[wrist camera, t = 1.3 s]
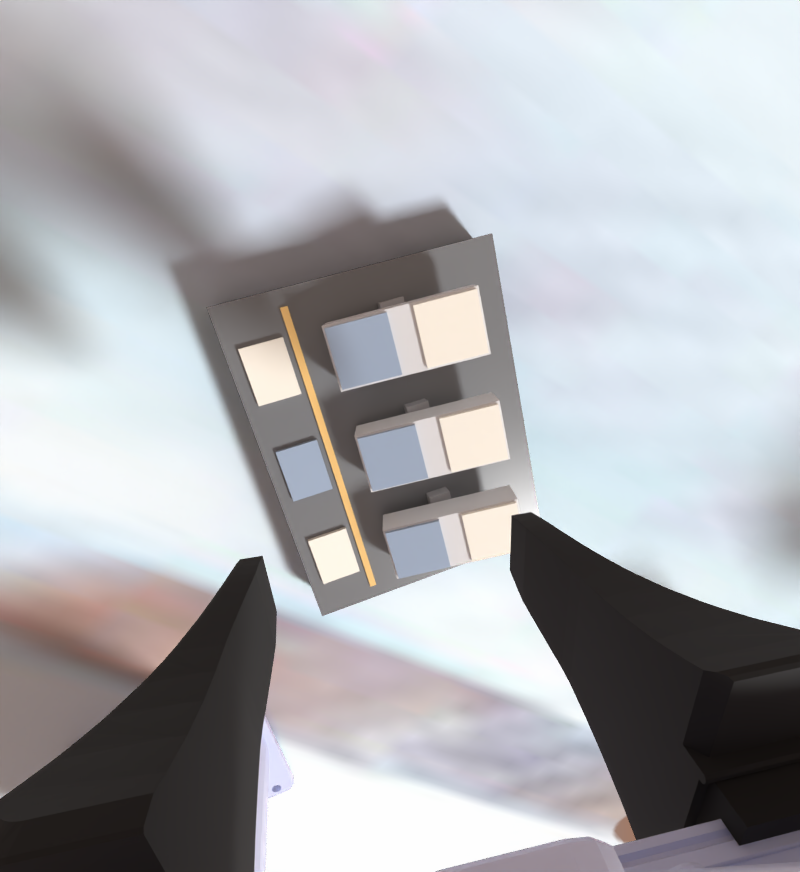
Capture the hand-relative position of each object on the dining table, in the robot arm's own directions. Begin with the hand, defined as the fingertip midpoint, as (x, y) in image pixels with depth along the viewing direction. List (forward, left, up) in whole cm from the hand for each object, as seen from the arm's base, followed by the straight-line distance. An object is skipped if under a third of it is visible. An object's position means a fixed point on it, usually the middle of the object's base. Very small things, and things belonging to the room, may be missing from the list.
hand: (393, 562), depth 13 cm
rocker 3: (+3, -4, -7) cm, 8 cm away
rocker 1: (+3, +5, -7) cm, 9 cm away
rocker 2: (+3, +1, -7) cm, 7 cm away
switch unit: (+2, +1, -10) cm, 10 cm away
